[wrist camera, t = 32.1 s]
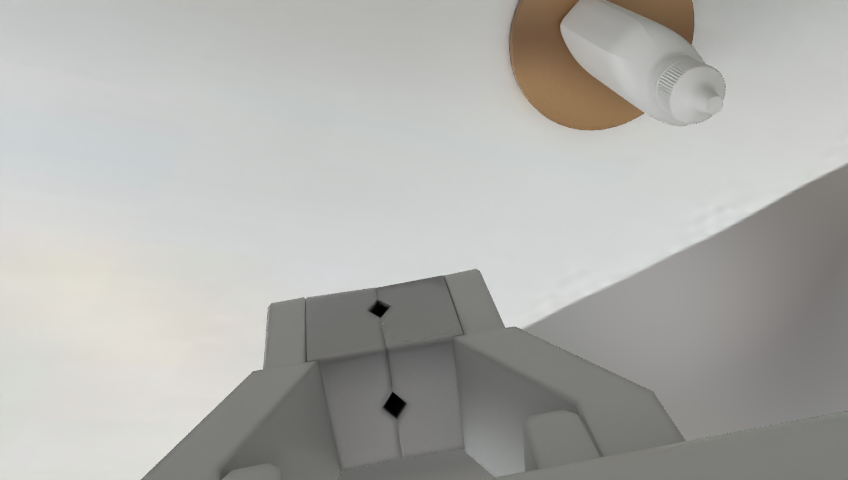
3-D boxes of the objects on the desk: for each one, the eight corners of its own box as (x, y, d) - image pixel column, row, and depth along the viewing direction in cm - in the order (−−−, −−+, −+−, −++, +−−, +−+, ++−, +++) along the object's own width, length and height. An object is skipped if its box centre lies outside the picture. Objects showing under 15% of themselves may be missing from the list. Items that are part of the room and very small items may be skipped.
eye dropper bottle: (631, -26, 38) (758, 14, 27) (653, 75, 41) (776, 147, 30) (551, 6, 38) (646, 58, 27) (578, 105, 41) (674, 188, 30)
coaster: (505, -52, 37) (507, -51, 37) (695, -74, 38) (701, -73, 37) (512, 138, 42) (515, 141, 41) (683, 114, 42) (688, 117, 42)
